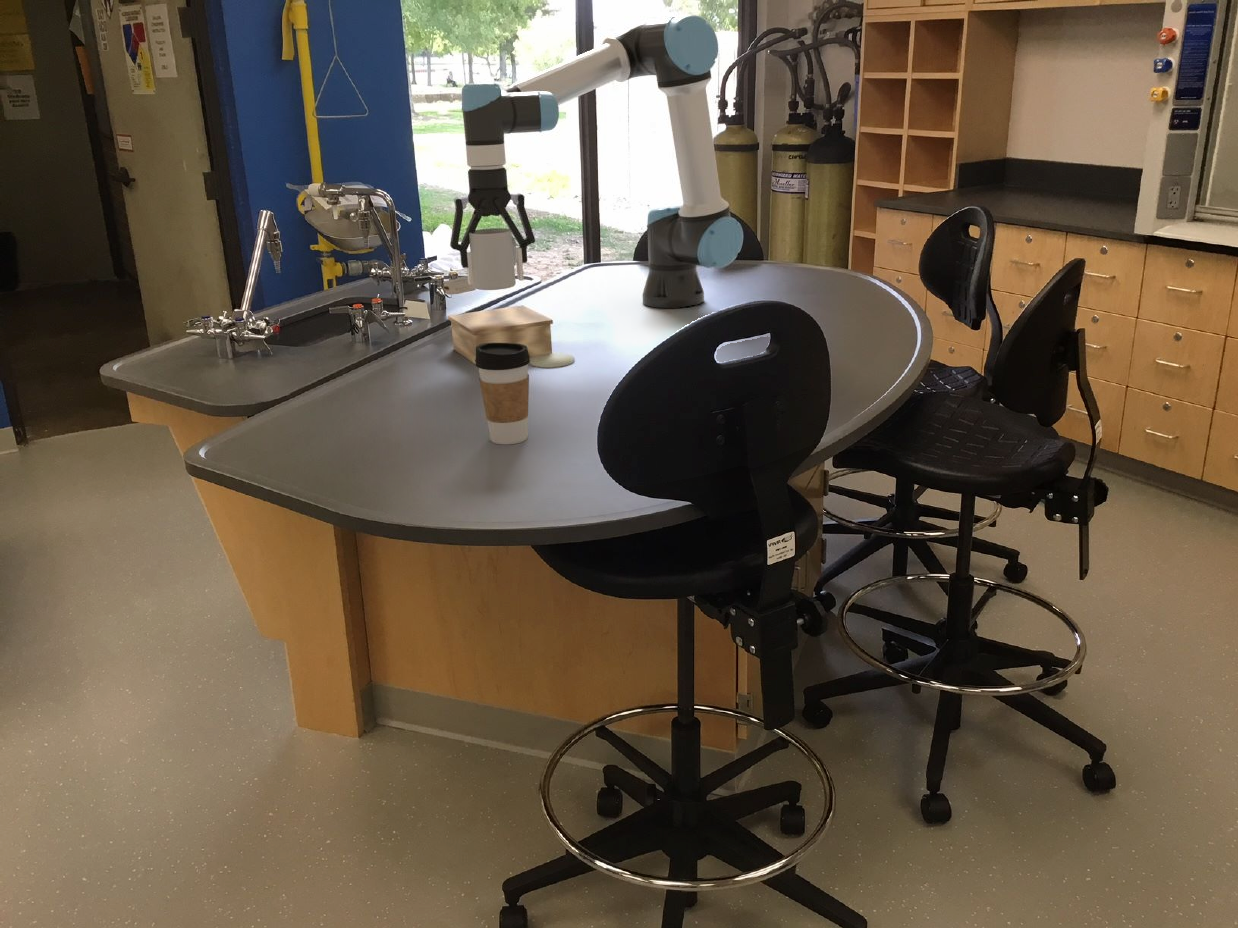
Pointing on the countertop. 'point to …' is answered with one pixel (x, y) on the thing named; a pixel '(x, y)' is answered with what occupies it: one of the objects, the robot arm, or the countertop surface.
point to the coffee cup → (505, 390)
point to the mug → (493, 258)
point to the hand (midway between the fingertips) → (495, 281)
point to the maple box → (501, 330)
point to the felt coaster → (552, 360)
